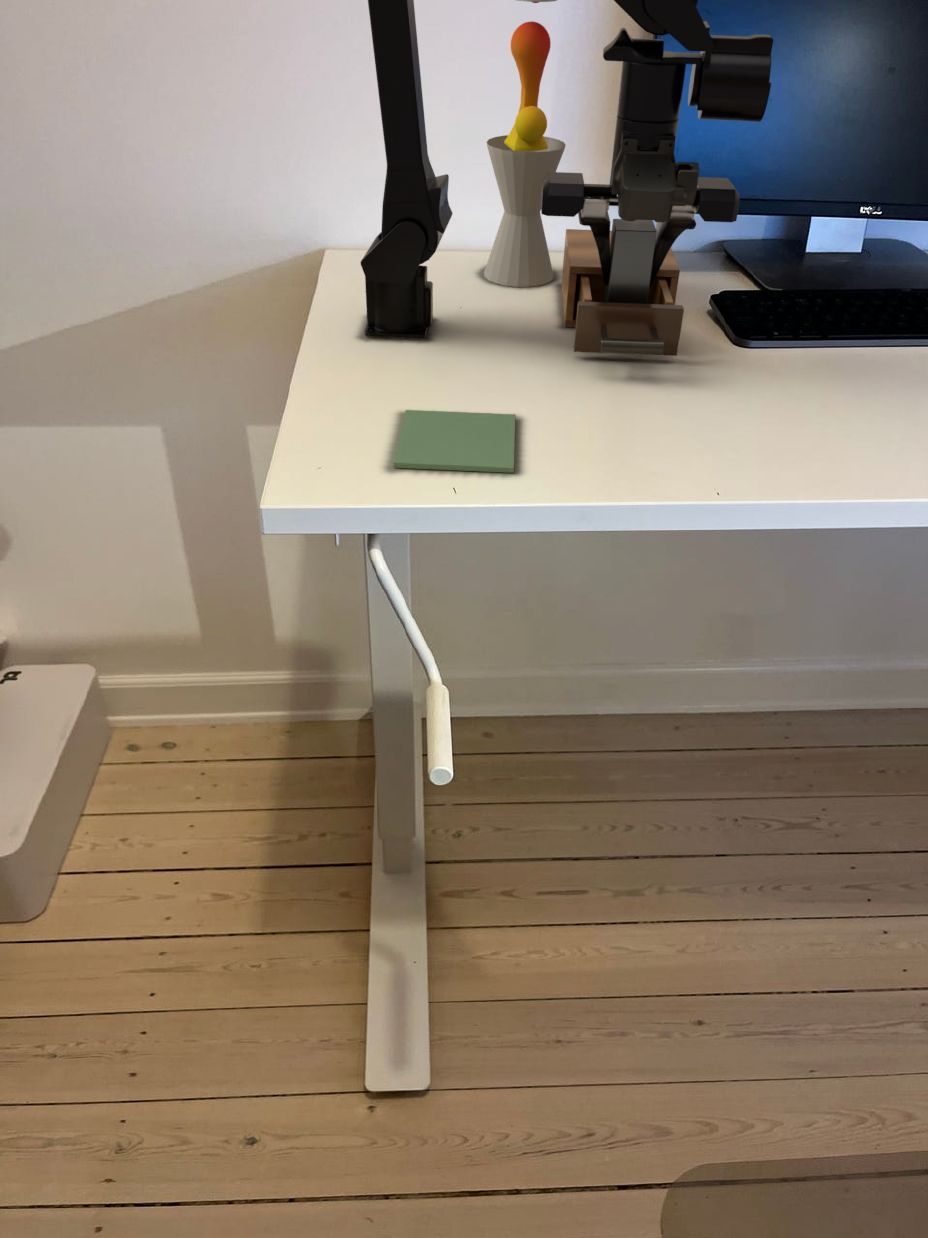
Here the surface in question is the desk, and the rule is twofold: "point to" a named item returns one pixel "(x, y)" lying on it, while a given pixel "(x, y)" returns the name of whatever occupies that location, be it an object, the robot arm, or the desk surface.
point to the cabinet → (597, 269)
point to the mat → (456, 441)
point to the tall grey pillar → (630, 261)
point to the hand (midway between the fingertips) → (626, 285)
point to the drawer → (626, 321)
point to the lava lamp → (524, 171)
